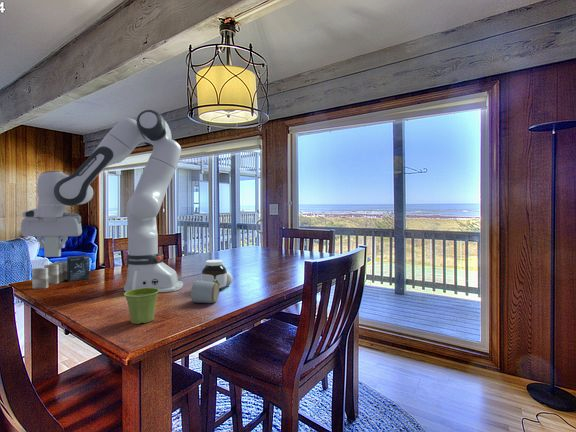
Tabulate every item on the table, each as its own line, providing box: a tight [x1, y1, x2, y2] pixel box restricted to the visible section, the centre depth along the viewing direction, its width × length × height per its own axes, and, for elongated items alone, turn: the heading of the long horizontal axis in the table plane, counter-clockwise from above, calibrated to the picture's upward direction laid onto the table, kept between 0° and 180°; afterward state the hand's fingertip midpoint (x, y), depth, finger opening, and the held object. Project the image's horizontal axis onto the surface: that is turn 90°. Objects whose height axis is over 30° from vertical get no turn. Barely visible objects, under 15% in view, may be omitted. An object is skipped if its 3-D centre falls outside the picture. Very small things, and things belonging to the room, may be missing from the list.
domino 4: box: [43, 264, 60, 285], centre depth 135 cm, size 5×2×8 cm, turn 98°
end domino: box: [54, 261, 68, 281], centre depth 143 cm, size 5×2×8 cm, turn 98°
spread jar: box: [200, 259, 234, 292], centre depth 130 cm, size 12×11×12 cm
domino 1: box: [31, 267, 49, 290], centre depth 128 cm, size 5×2×8 cm, turn 98°
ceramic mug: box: [190, 279, 220, 304], centre depth 112 cm, size 11×8×8 cm
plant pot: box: [123, 288, 160, 325], centre depth 92 cm, size 9×9×9 cm
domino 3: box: [48, 262, 65, 283], centre depth 139 cm, size 5×2×8 cm, turn 98°
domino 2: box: [43, 236, 62, 258], centre depth 123 cm, size 5×2×8 cm, turn 99°
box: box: [66, 254, 91, 282], centre depth 143 cm, size 8×6×11 cm
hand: (52, 247), depth 123 cm, fingers closed on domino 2, 5 cm apart
